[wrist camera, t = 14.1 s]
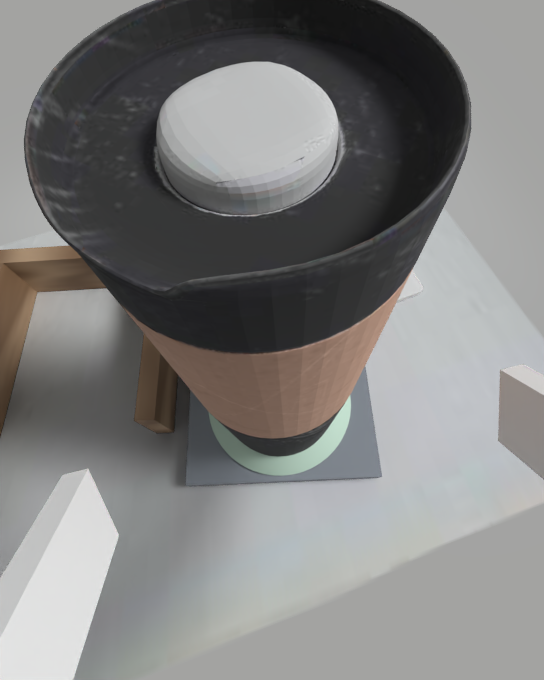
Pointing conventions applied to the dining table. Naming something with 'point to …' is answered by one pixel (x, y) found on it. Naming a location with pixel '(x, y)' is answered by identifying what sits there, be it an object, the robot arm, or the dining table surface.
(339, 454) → the dock pad
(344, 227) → the travel mug
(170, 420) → the mug cradle
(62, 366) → the dining table surface
